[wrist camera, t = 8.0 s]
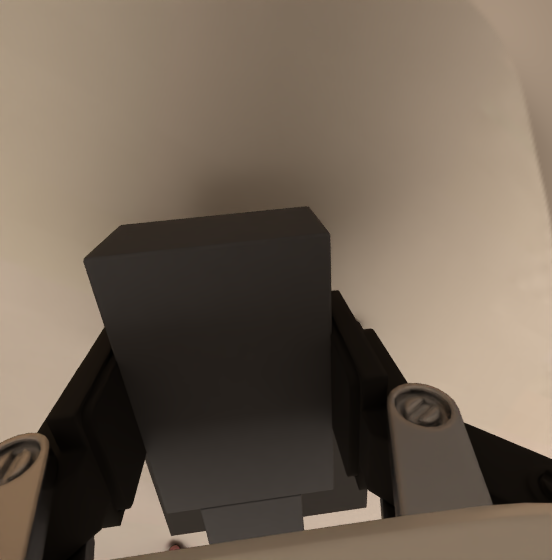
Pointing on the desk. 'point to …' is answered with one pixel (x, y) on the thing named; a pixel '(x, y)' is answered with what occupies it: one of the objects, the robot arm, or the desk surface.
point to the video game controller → (174, 548)
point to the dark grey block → (226, 360)
